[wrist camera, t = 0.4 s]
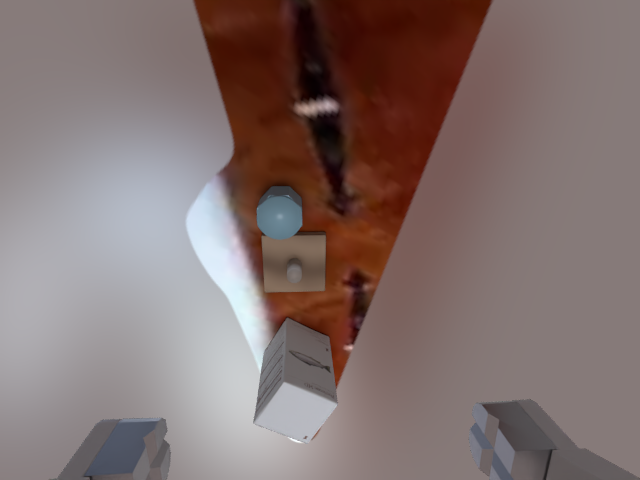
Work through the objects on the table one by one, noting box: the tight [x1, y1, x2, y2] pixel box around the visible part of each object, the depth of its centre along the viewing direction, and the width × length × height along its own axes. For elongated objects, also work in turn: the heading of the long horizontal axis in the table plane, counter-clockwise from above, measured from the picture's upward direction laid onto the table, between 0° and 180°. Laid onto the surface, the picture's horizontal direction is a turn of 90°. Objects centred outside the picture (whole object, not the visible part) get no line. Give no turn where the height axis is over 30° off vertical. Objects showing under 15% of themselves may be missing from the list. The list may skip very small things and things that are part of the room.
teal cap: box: [257, 186, 302, 240], centre depth 41 cm, size 5×5×5 cm
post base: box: [262, 232, 326, 292], centre depth 44 cm, size 8×8×4 cm
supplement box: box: [253, 318, 338, 444], centre depth 45 cm, size 7×7×13 cm
